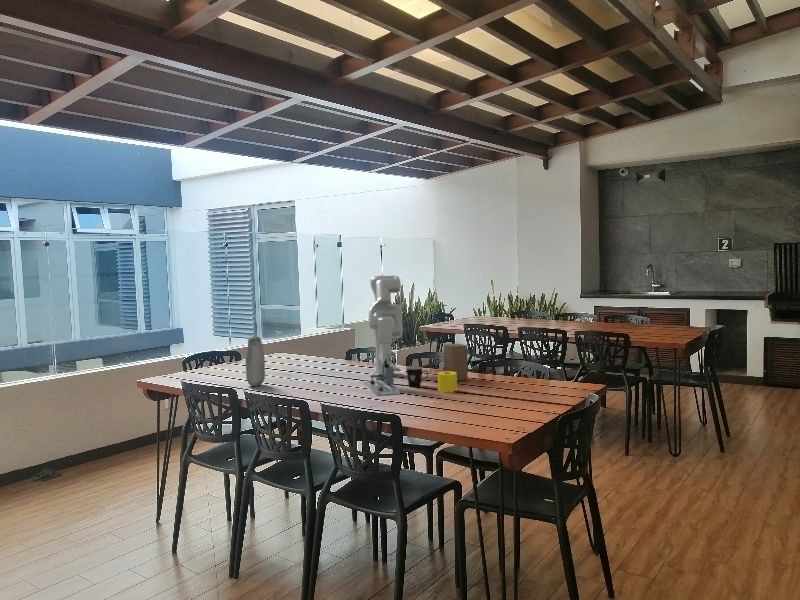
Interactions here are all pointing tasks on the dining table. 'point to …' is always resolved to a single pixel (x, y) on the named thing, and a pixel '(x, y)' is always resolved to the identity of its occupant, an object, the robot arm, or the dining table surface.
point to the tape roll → (447, 381)
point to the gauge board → (380, 386)
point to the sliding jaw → (387, 376)
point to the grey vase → (255, 362)
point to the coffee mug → (415, 376)
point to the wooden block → (456, 360)
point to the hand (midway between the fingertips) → (385, 373)
